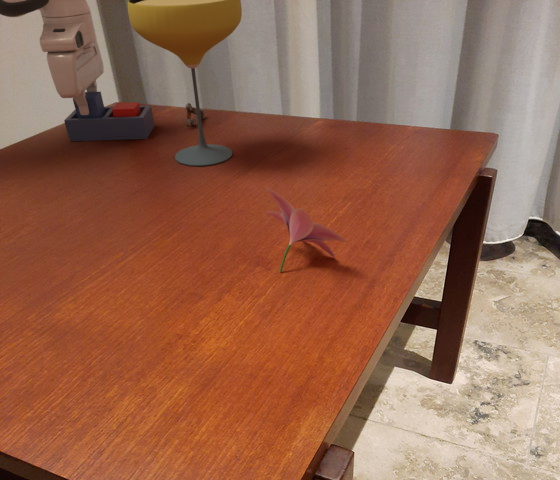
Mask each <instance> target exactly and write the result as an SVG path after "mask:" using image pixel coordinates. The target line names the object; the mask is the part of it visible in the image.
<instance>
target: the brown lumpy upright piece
mask: <svg viewBox="0 0 560 480" xmlns="http://www.w3.org/2000/svg"><path fill="white" fill-rule="evenodd" d="M185 110H186V127H187V128H190V127H191V126H196V120H194V119H191V116H192V115H195V118H196V119H197V112H196V107H193V105H192V104H191V103H189V102H188V103H186V104H185ZM200 114H201V120H202V119H203V120H204V119H205V109H202V108H200Z"/></svg>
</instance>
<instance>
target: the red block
mask: <svg viewBox="0 0 560 480" xmlns="http://www.w3.org/2000/svg"><path fill="white" fill-rule="evenodd" d="M140 106H141V105H140V103H139V102H138V101H137V102H133V101H132V102H117V103H116V104H115V105H114V106H113V107H114V108H113V109H112V111H113V116H114V117H137V116H140V114H141V112H140Z"/></svg>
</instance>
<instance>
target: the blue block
mask: <svg viewBox="0 0 560 480" xmlns="http://www.w3.org/2000/svg"><path fill="white" fill-rule="evenodd" d="M85 94H86V96H85V98H86V101H87V103H88V104H89V106H90V110H91V112H90V113H89V114H88V115H81V114H80V111H79V107H78V105H77V104H76V102H75V100H74V98H72V101H73V106H74V110H76V113H77V117H78V119H79V118H103V116H104V115H105V114H106V113H105V108H104V107H105V104H104V100H103V96H102V92H101V91H97V92H87V91H85Z"/></svg>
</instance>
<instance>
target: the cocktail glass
mask: <svg viewBox="0 0 560 480" xmlns="http://www.w3.org/2000/svg"><path fill="white" fill-rule="evenodd" d="M127 12H128V18H129V22H130V24H131V27H132V29H133V31H135V32H136V34H138V35H139V36H140V37H141V38H143V39H144V40H146V41H147V42H148V43H151V44H154V45H155V46H157V47H159V48H161V49H164V50H165V51H168V52H171V54H174V55H175V56H177V57H178V59H180V60H181V62H182V63H183V64H184V65H185V67H187V68H188V69H190V71H191V78H192V87H193V94H194V95H193V96H194V102H195V108H196V112H197V118H196V121H197V128H198V144H197V145H191V146H188V147H185V148H183V149H180V150H179V151H177V152H176V154H174V155H175V156H174V159H175V161H176V162H177V163H178V164H180V165H183V166H189V167H208V166H209V167H210V166H216V165H219V164H223V163H224V162H227V161H228V160H229V159H231V158H232V156H233V150H232V149H231V148H230V147H227V146H225V145H220V144H213V143H210V144H208V143H207V141H206V137H205V133H204V129H203V122H202V118H201V114H200V109H201V108H200V101H199V92H198V84H197V76H196V69H197V68H198V67H199V66H200V64H201V63H202V60H203V58H204V56H205V55H206V54H207V52H209V51H210V50H211V49H213V48H214V47H215V46H217V45H218V44H220V43H221V42H222V41H224V40H226V39H227V38H228V37H229V36H230V35H231V34H233V32H235V30H236V29H237V28H238V26H239V25H240V23H241V21H242V15H243V13H242V12H243V10H242V1H241V0H128V1H127Z"/></svg>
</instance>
